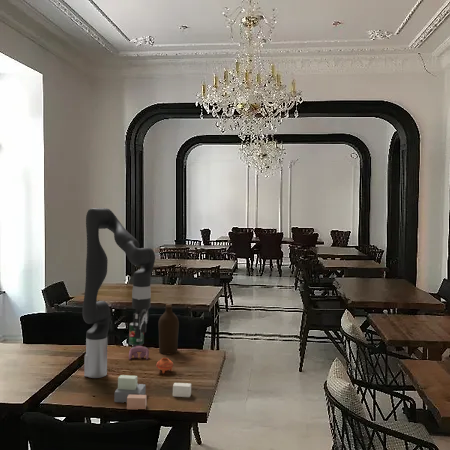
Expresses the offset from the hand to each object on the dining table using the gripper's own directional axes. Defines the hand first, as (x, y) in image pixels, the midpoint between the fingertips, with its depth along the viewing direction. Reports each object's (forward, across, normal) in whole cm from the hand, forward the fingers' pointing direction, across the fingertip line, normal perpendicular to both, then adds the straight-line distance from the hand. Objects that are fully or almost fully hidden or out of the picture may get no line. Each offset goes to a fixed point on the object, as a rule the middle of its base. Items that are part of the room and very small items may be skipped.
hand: (140, 335), depth 219 cm
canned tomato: (+25, -68, -20) cm, 76 cm away
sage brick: (+20, +7, -3) cm, 21 cm away
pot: (+24, -26, +5) cm, 36 cm away
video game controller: (+25, -44, -12) cm, 52 cm away
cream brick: (+24, +1, +18) cm, 30 cm away
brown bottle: (+24, -57, 0) cm, 62 cm away
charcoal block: (+24, +7, -2) cm, 25 cm away
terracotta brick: (+24, +16, +4) cm, 29 cm away
